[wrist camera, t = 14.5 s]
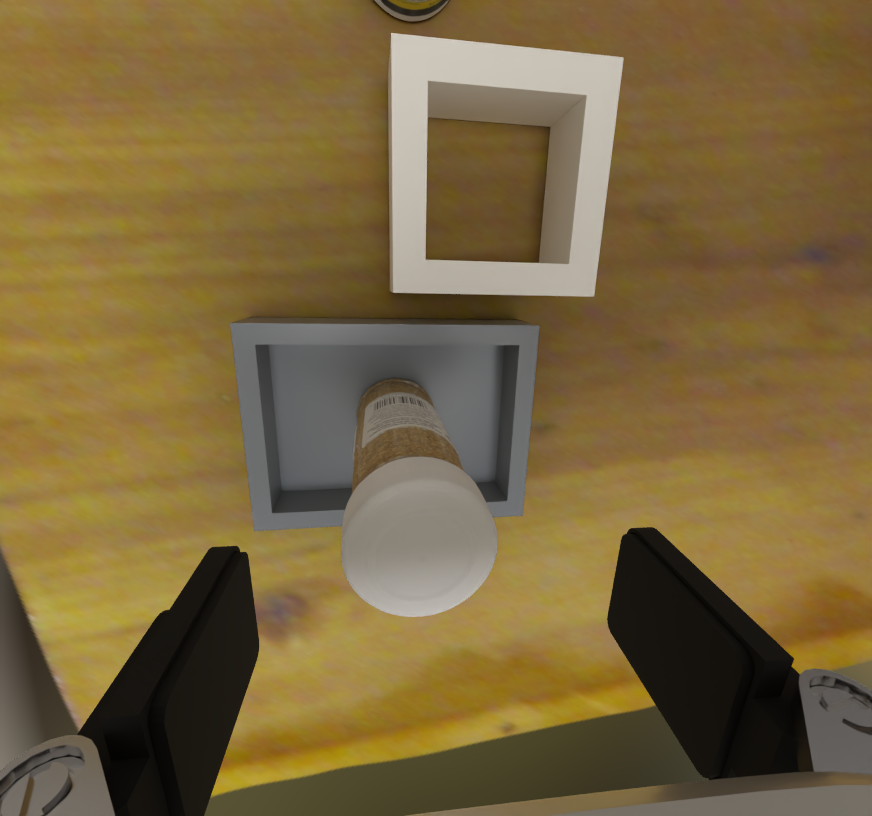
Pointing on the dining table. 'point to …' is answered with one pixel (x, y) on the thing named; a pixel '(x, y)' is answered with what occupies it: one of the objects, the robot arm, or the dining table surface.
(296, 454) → the charcoal tray
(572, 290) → the frame
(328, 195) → the dining table surface
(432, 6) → the supplement bottle
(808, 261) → the dining table surface
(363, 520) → the sprinkles bottle
